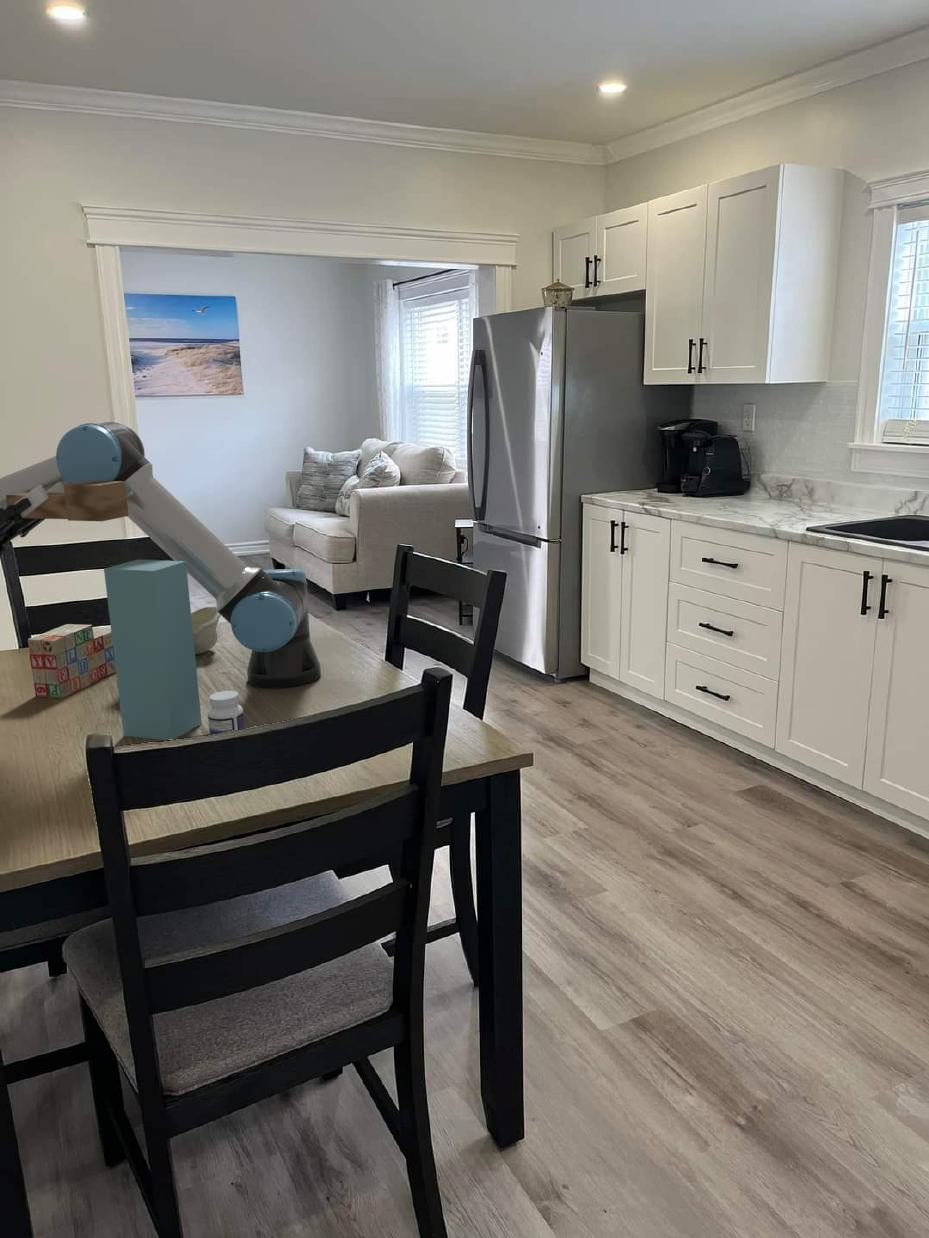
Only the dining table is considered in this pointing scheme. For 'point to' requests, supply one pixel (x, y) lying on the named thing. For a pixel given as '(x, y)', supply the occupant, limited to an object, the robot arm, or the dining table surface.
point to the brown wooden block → (82, 502)
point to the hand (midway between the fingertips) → (53, 490)
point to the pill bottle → (225, 712)
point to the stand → (153, 648)
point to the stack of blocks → (70, 659)
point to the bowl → (204, 628)
